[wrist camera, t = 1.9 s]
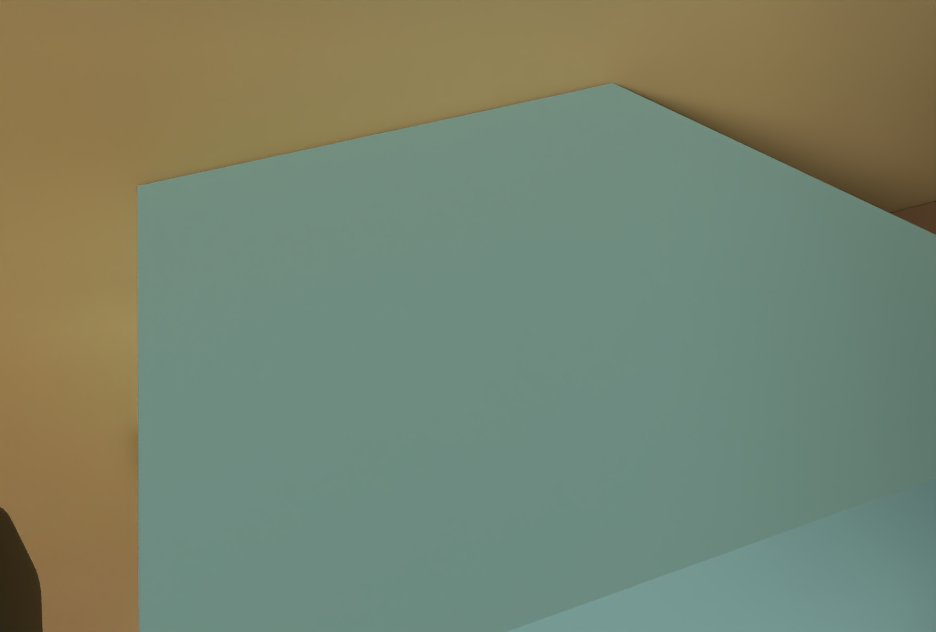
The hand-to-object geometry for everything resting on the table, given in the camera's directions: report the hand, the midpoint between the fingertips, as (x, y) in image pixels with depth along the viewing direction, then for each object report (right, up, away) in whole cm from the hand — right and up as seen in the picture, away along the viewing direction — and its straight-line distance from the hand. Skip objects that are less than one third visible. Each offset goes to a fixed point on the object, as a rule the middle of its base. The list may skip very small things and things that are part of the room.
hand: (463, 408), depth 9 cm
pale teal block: (0, +1, +1) cm, 2 cm away
